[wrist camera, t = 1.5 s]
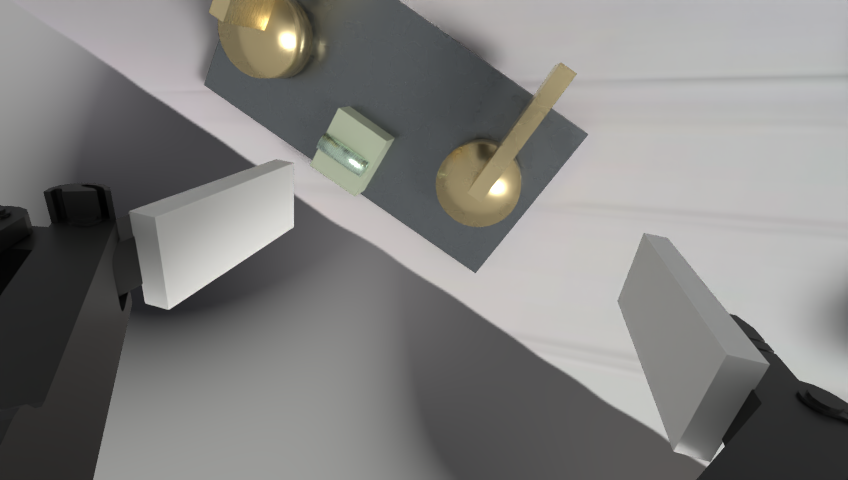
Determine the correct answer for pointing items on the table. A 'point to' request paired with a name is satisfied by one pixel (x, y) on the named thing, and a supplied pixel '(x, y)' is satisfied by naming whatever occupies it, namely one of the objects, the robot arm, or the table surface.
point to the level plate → (398, 115)
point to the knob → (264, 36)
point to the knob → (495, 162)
